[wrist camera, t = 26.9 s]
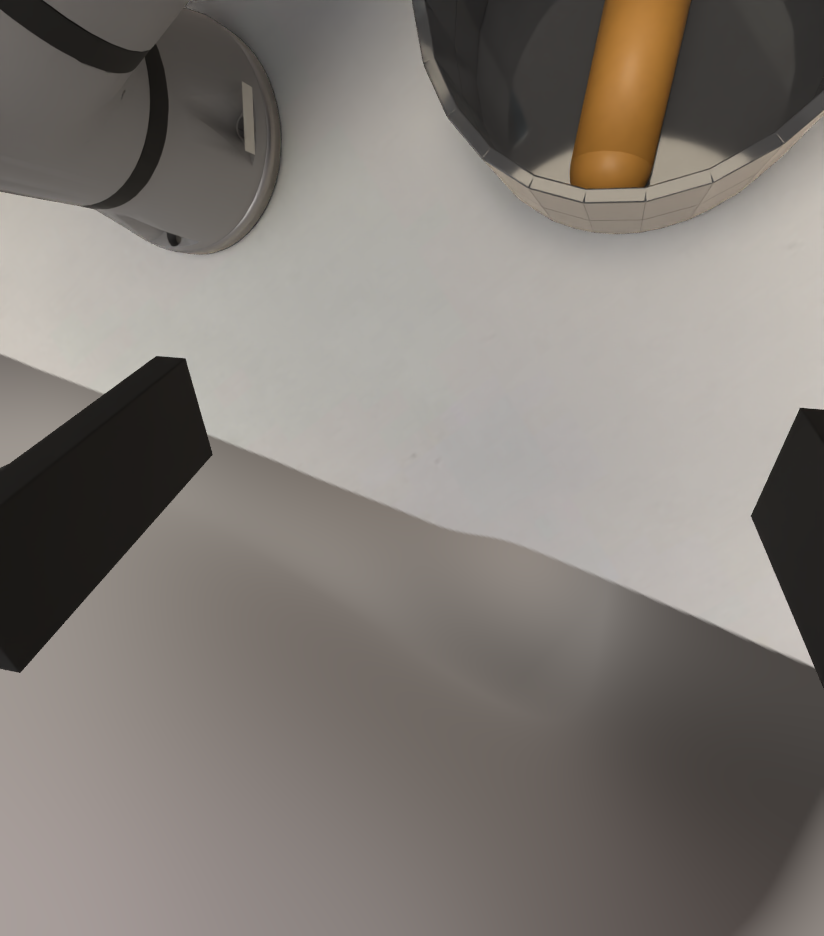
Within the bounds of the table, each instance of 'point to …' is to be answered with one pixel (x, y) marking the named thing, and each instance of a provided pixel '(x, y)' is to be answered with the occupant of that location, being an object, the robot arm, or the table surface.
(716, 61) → the pot
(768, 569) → the table surface
